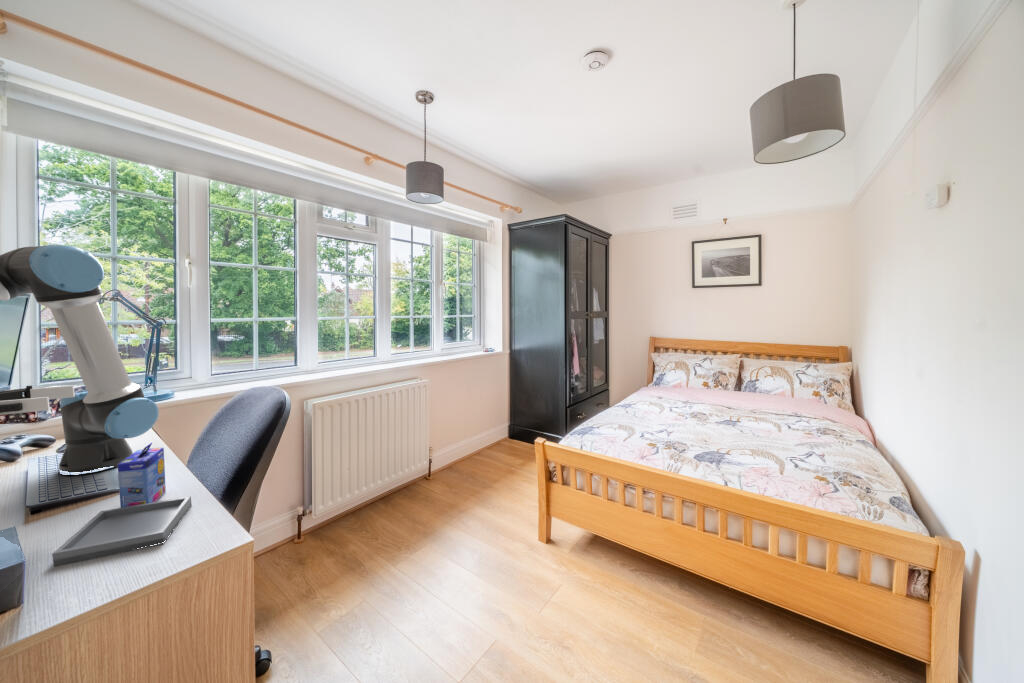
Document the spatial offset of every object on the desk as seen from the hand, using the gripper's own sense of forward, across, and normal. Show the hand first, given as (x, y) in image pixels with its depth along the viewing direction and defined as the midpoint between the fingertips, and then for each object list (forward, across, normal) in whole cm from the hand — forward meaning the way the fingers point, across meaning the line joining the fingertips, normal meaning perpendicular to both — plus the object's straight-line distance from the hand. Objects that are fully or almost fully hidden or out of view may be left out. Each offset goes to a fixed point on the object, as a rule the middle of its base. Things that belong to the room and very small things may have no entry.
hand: (62, 396), depth 84 cm
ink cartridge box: (+12, 0, -28) cm, 31 cm away
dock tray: (+12, +15, -28) cm, 34 cm away
